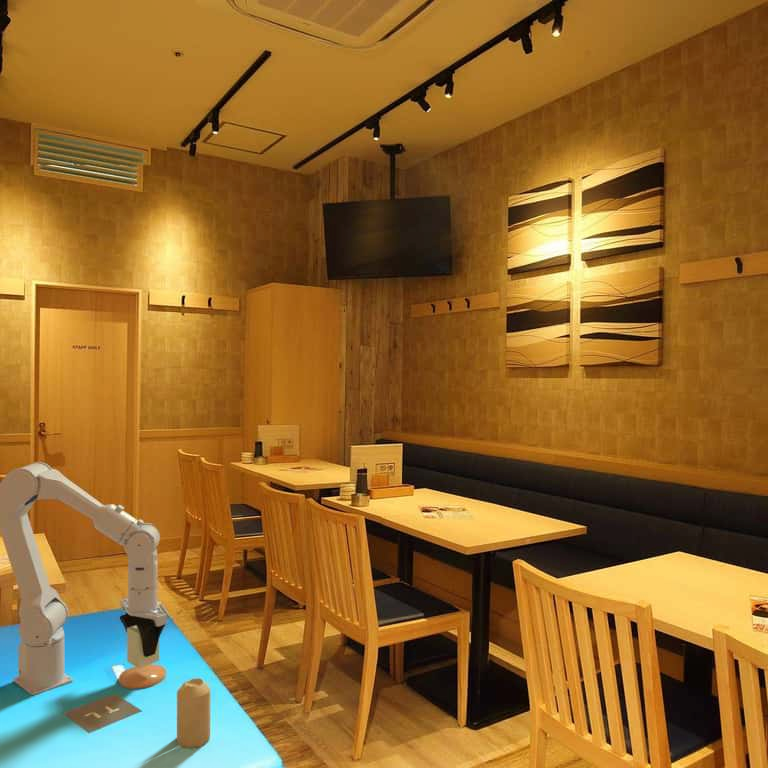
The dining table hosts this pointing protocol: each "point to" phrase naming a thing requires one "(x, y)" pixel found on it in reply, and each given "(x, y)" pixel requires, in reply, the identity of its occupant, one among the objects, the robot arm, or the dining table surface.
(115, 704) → the brown tile
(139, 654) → the block
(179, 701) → the candle
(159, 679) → the orange disc
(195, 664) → the dining table surface
